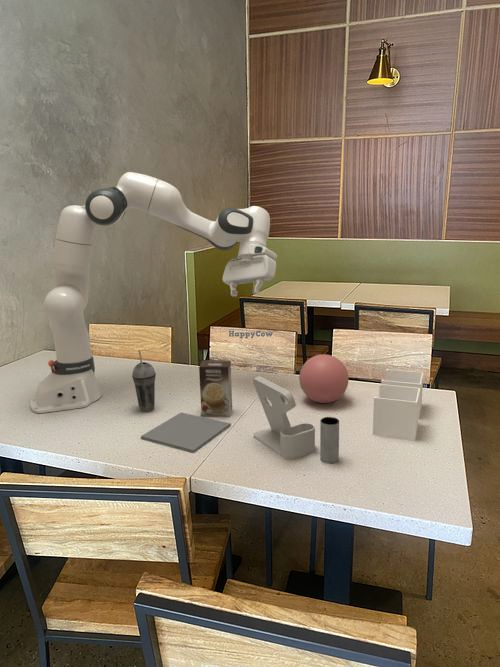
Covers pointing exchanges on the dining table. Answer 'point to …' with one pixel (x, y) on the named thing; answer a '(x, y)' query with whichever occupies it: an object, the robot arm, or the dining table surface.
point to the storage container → (398, 404)
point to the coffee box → (215, 388)
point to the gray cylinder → (329, 439)
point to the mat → (186, 432)
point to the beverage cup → (144, 385)
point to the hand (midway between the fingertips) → (244, 294)
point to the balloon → (323, 378)
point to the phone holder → (282, 423)
